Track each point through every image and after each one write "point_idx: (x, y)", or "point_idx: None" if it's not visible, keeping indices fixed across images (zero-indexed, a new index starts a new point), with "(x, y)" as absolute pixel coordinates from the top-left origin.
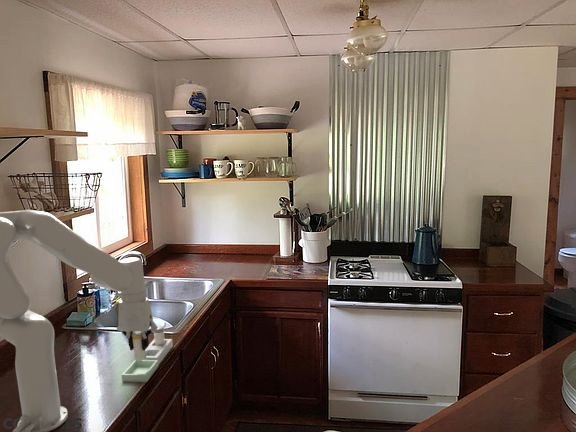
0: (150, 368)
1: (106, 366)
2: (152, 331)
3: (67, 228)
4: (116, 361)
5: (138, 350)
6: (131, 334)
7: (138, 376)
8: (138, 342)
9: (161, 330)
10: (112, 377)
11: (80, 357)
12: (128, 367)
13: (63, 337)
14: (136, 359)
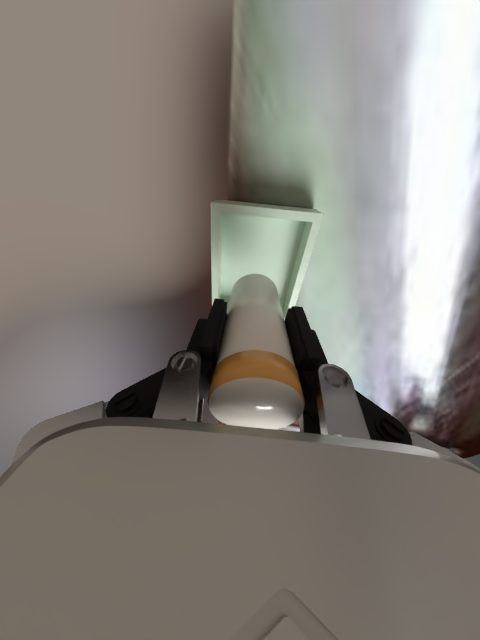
0: (214, 262)
1: (376, 319)
2: (93, 409)
3: None
4: (347, 340)
5: (250, 299)
6: (309, 403)
7: (245, 204)
8: (243, 332)
9: (226, 424)
10: (356, 251)
11: (448, 365)
12: (303, 276)
13: (469, 430)
14: (266, 278)
